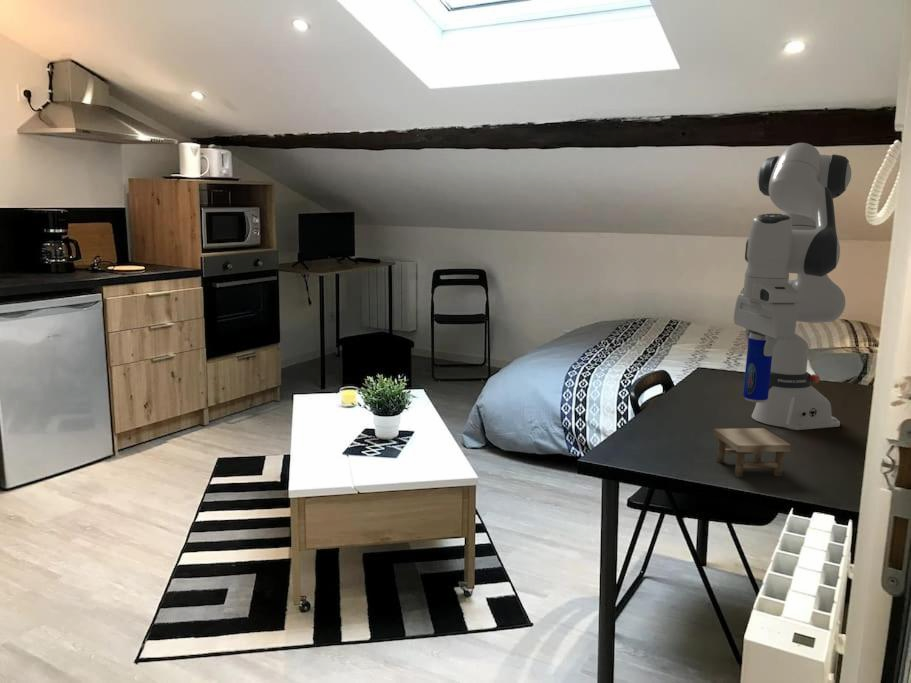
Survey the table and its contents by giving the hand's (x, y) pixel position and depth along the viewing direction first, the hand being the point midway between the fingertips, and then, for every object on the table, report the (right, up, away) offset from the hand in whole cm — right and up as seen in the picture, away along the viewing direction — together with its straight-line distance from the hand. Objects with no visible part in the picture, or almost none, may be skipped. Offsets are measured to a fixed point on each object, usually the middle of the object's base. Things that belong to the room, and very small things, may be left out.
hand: (759, 352), depth 163 cm
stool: (0, -26, +5) cm, 27 cm away
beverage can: (0, -11, +2) cm, 11 cm away
